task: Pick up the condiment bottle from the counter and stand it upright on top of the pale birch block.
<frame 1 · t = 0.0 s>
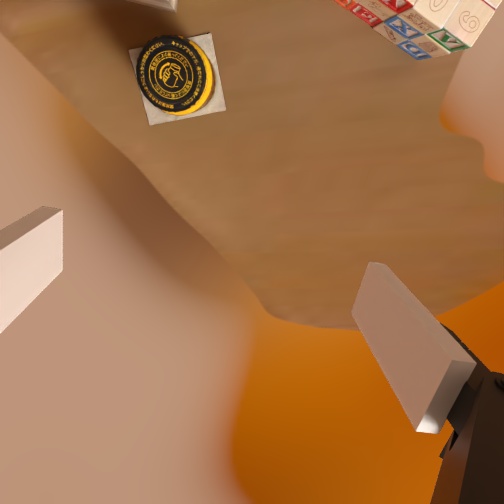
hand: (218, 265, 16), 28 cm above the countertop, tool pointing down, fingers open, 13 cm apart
condiment: (179, 81, 38), on the countertop
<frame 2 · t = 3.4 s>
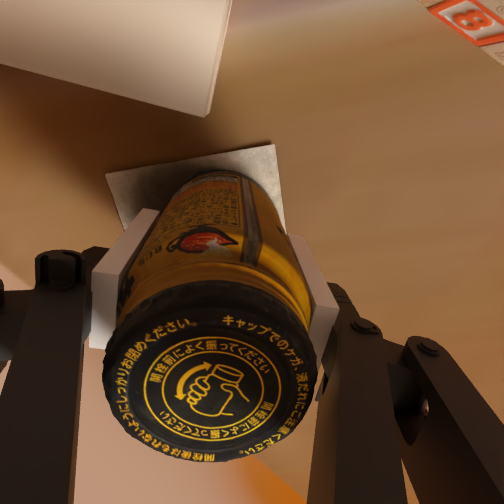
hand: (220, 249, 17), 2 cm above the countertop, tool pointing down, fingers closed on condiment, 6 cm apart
condiment: (205, 225, 20), on the countertop, touching gripper
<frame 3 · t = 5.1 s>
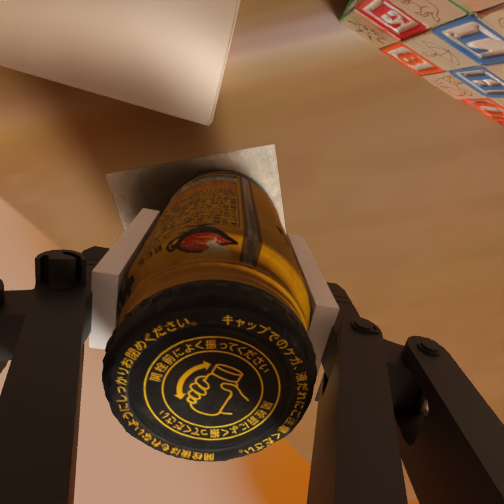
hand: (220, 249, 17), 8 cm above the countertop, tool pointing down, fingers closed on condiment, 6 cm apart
stack of blocks: (503, 63, 23), on the countertop
condiment: (205, 225, 20), point 5 cm above the countertop, touching gripper
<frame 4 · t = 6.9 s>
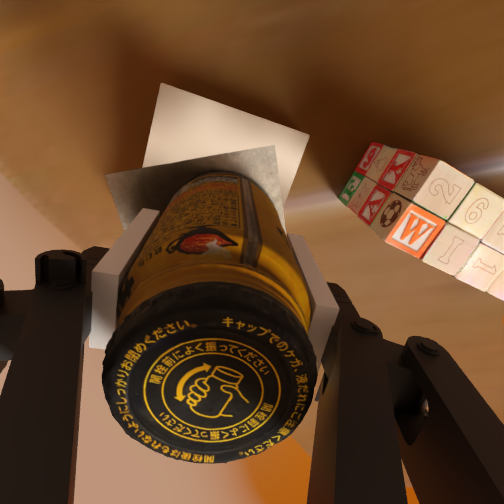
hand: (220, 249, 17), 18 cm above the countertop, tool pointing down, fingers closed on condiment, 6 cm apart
birch block: (217, 173, 35), on the countertop
stack of blocks: (436, 217, 38), on the countertop
condiment: (205, 225, 20), point 16 cm above the countertop, touching gripper
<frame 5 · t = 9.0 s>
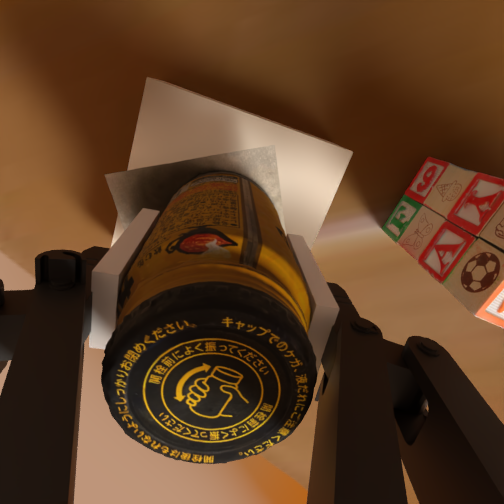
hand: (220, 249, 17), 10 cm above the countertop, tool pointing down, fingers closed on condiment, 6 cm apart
birch block: (224, 195, 27), on the countertop
condiment: (205, 225, 20), point 7 cm above the countertop, touching gripper
when the fingers open (9 cm above the countertop, at t = 10.4 s): condiment drops 2 cm, resting on birch block.
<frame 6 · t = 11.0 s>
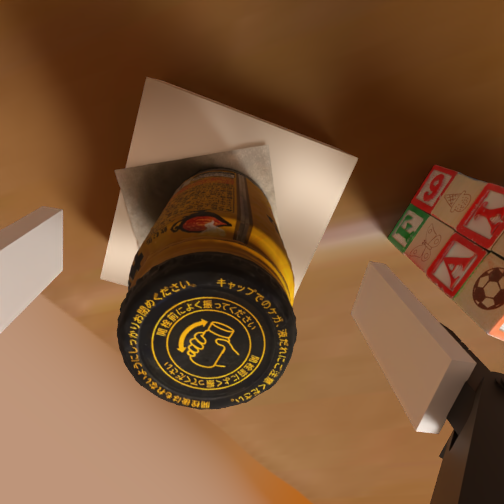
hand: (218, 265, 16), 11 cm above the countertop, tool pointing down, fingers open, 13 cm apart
birch block: (224, 199, 26), on the countertop, touching condiment
condiment: (205, 218, 21), point 4 cm above the countertop, touching birch block
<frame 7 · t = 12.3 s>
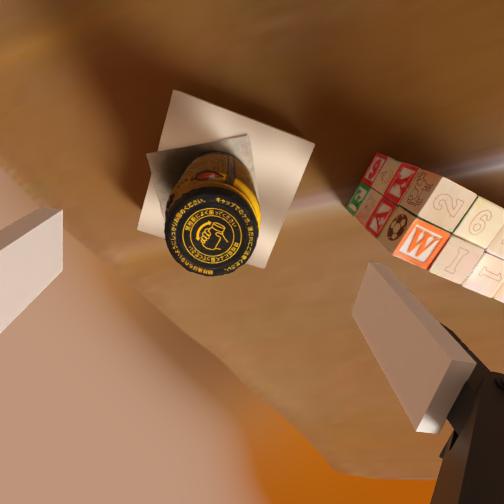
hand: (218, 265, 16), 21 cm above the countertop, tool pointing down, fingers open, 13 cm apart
birch block: (224, 177, 36), on the countertop, touching condiment
stack of blocks: (442, 221, 39), on the countertop
condiment: (207, 187, 31), point 4 cm above the countertop, touching birch block
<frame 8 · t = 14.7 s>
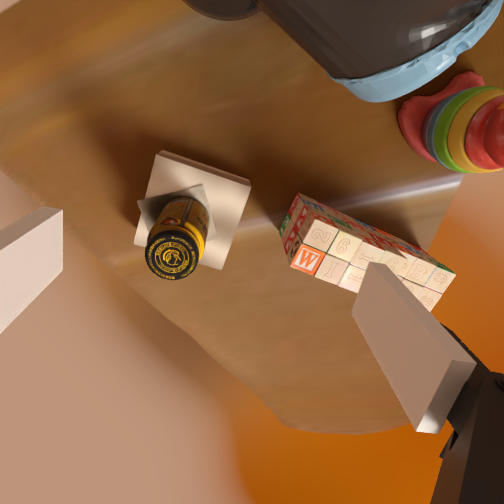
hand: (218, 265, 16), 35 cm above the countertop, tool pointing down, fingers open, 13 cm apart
birch block: (194, 205, 51), on the countertop, touching condiment
stack of blocks: (350, 238, 54), on the countertop
stacking bear: (442, 123, 48), on the countertop
condiment: (179, 219, 46), point 4 cm above the countertop, touching birch block
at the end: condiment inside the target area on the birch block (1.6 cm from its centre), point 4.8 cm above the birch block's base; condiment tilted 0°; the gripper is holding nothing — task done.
